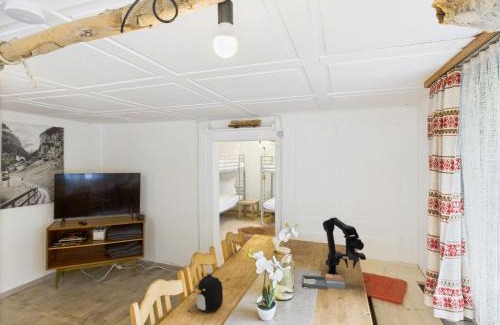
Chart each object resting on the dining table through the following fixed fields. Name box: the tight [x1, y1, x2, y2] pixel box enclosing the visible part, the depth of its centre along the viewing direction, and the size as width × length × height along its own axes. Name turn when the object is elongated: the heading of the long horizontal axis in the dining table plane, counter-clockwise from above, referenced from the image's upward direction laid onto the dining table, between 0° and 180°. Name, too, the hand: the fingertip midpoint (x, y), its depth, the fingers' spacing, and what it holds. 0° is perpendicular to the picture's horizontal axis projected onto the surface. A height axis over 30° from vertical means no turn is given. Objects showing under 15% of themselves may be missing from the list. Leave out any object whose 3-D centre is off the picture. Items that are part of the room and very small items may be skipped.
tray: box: [301, 274, 328, 290], centre depth 178 cm, size 14×16×2 cm
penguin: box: [195, 274, 224, 312], centre depth 153 cm, size 18×18×17 cm
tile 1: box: [324, 273, 334, 281], centre depth 176 cm, size 5×5×2 cm
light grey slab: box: [325, 277, 346, 290], centre depth 175 cm, size 10×12×4 cm
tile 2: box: [333, 274, 344, 282], centre depth 175 cm, size 5×5×2 cm
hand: (350, 268), depth 174 cm, fingers open, 4 cm apart
